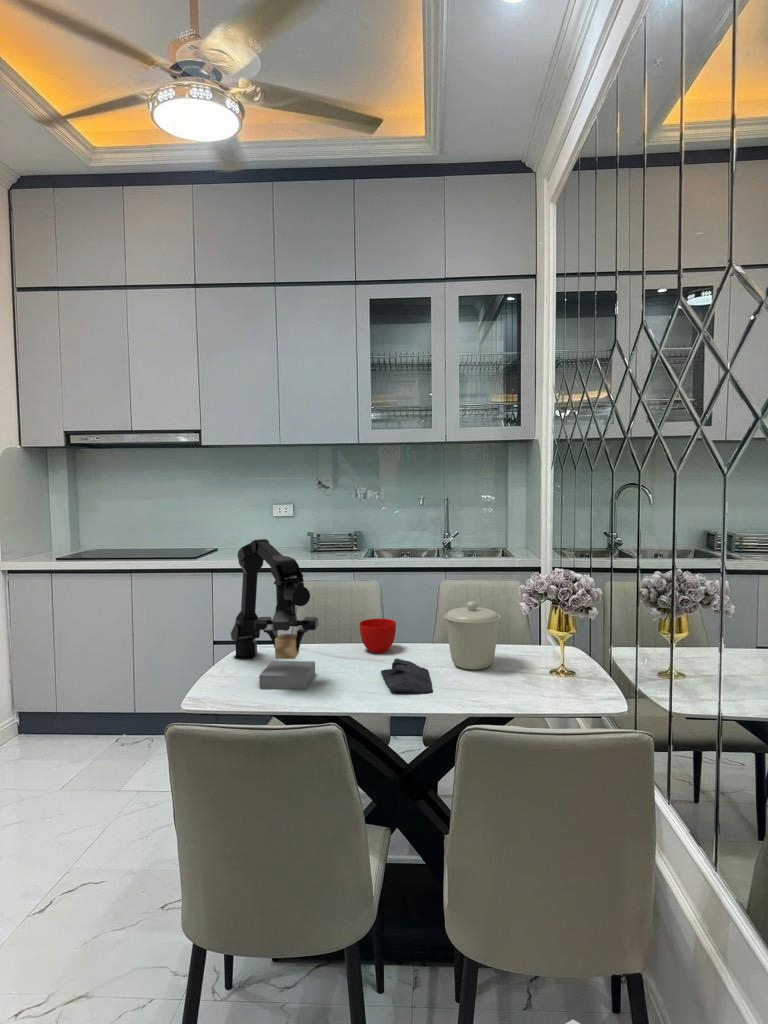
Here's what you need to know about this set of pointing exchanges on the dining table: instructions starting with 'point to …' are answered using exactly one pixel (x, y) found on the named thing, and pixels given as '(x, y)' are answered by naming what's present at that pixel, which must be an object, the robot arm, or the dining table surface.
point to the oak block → (286, 646)
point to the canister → (472, 636)
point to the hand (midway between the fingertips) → (287, 651)
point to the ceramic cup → (377, 634)
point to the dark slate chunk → (407, 677)
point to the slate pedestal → (287, 675)
